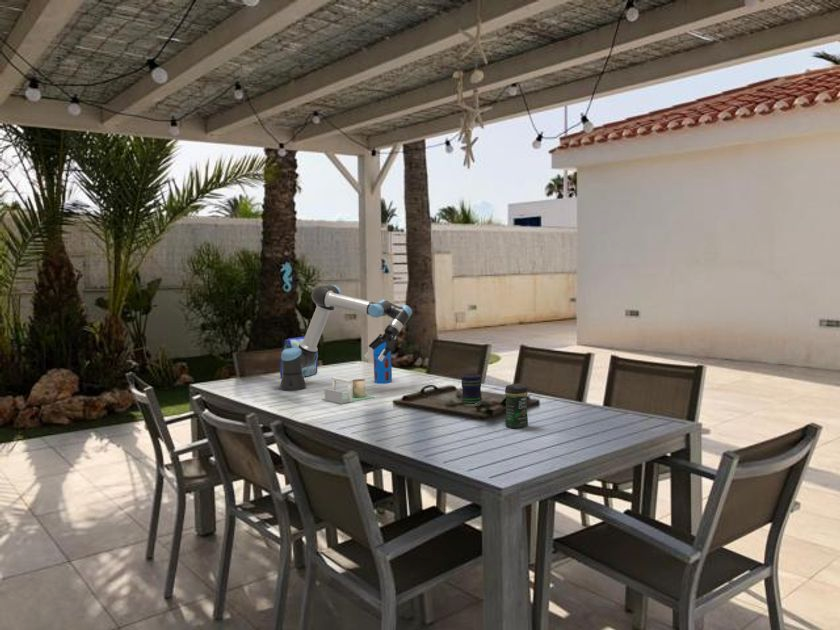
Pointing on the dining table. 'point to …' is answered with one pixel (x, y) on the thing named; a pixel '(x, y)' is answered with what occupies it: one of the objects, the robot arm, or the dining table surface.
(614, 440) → the dining table surface
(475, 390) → the storage jar
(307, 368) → the lunch bag
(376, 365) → the thermos
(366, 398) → the pitch
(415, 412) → the dining table surface
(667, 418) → the dining table surface
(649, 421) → the dining table surface
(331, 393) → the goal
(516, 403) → the coffee jar
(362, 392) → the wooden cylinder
